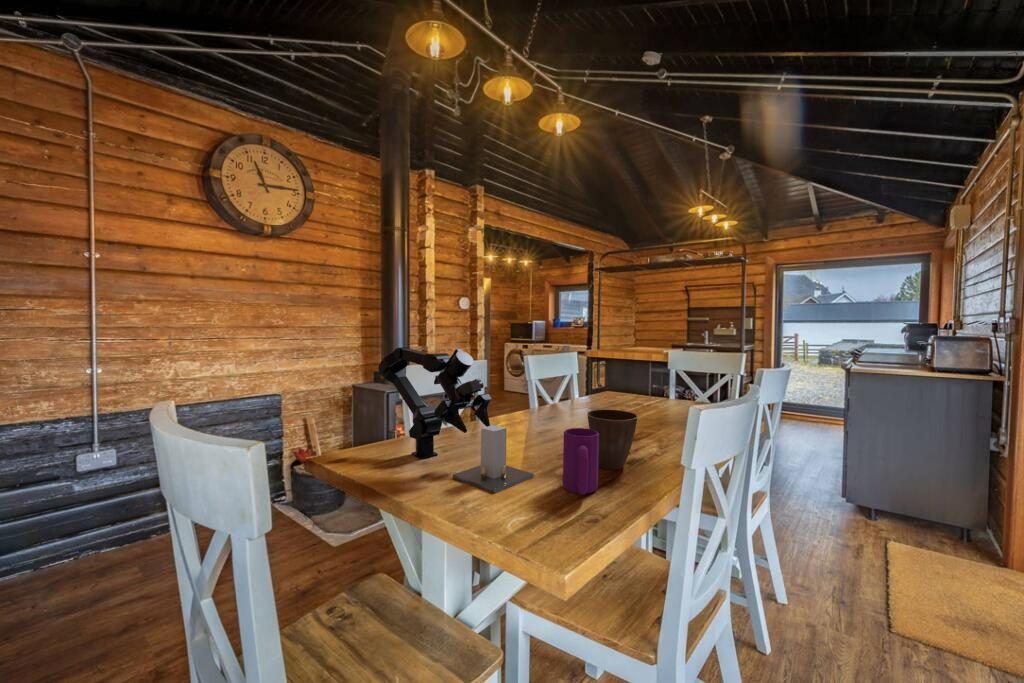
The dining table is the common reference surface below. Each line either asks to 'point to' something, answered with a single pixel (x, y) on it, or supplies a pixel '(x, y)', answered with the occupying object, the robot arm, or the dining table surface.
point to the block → (493, 450)
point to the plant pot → (613, 436)
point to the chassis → (495, 485)
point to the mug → (580, 460)
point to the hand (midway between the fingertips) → (477, 429)
